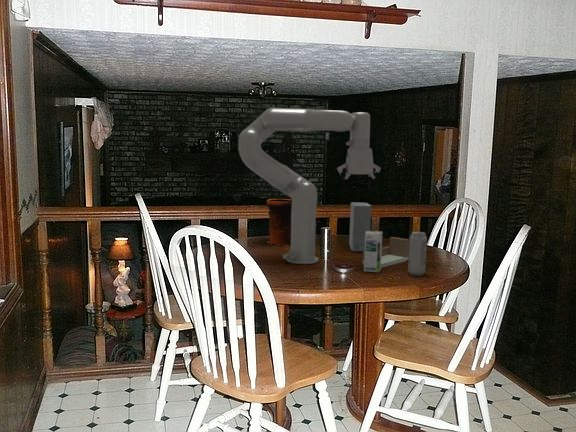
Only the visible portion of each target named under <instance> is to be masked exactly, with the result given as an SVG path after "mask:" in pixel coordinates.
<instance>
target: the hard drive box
mask: <svg viewBox="0 0 576 432" xmlns="http://www.w3.org/2000/svg"><path fill="white" fill-rule="evenodd" d="M371 219H372V205H371V204H369V203H367V202H358V201H357V202H355V201H354V202H353V201H352V202H350V217H349V237H348V238H349V239H348V241H349V242H348V243H349V244H348V245H349V247H350V250H351V251H352V252H365V233H366V231H371V223H372V222H371Z"/></svg>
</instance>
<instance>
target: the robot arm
mask: <svg viewBox="0 0 576 432" xmlns="http://www.w3.org/2000/svg"><path fill="white" fill-rule="evenodd" d="M275 131H276V132H277V131H279V132H280V131H281V132H304V133H305V132H307V133H308V132H313V131H314V132H316V131H318V132H319V131H325V132H326V131H327V132H328V131H329V132H347V131H348V132H349V140H348V141H346V143H345V144H346V146H349V148H347V152H346V159H345V160H346V161H345V163H343V164H342V165H340V166H338V167H336V170H337V171H338V173H339V175H340V176H341V177H342V178H343V188H344V189H345V190H346V191H348V190H350V179H349V178H350V176H351V175H367V176H368V177H369V178H368V186H367V187H368V189H369V190H373V189H374V186H375V185H374V183H375V179H376V177H377V176H378V175H379V173H380V171H381V169H382V168H381V166H379V165H377V164H376V163H374V157H373V149H372V148H370V139H371V138H370V137H371V115H370V113H369V112H366V111H365V112H363V111H360V112H359V111H357V112H352V113H350V112H349V111H347V110H338V109H337V110H332V109H313V108H289V107H288V108H286V107H270V108H267V109H266V110H265V111H263V112H262V113H261V114H260V115H259V116H258V117H256V119H255V120H254V121H252V122H251V123H250V124H249V125H248V126H247V127H246V128H244V129H243V130H242V131H241V132H240V134H239V136H238V153H239V156H240V158H241V161H242V162H243V164H244V165H245V166H246V167H247V168H248V169H250V170H251V171H252V172H253V173H255V174H256V175H258V176H259V177H260V178H262V179H263V180H265V181H266V182H267V183H268V184H270V185H271V187H273V188H275V189H277V190H279V191H280V192H281V193H283V194H284V195H286V196H288V197H289V199H291V200H292V210H291V245H290V249H289V250H288V252H287V253H283V254H282V259H284V260H286V261H287V263H290V264H296V265H311V264H312V265H313V264H317V263H318V262H319V257H317V256H315V255H316V224H317V222H316V221H317V220H316V219H317V217H316V216H317V203H318V192H317V191H318V190H317V188H316V186H315V184H313V182H311V181H309V180H307V179H306V178H304V177H303V176H301V175H300V174H298V173H297V172H296V171H294V170H292V169H291V168H289V166H287V165H286V164H282V163H281V162H279V161H277V160H276V159H274V157H272V156H270V155H269V154H268V153H266V151H264V150H263V149H262V147H261V145H262V144H263V142H265V141H266V140H267V139H268V138H270V136H271V135H273V134H274V132H275ZM343 169H345V173H344V172H343ZM374 169H375V171H374Z"/></svg>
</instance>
